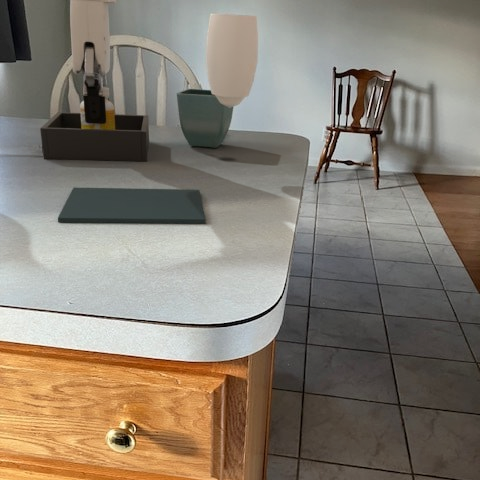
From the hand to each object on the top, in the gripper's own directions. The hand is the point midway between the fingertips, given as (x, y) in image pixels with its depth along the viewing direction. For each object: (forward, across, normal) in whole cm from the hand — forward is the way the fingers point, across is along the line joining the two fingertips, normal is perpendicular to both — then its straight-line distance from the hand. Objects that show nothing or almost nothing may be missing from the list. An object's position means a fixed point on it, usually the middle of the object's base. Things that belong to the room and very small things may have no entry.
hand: (97, 118), depth 88 cm
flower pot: (+5, -6, +18) cm, 20 cm away
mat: (+5, +31, +7) cm, 32 cm away
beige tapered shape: (+5, +12, +20) cm, 24 cm away
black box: (+5, 0, 0) cm, 5 cm away
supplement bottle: (+5, 0, 0) cm, 5 cm away
